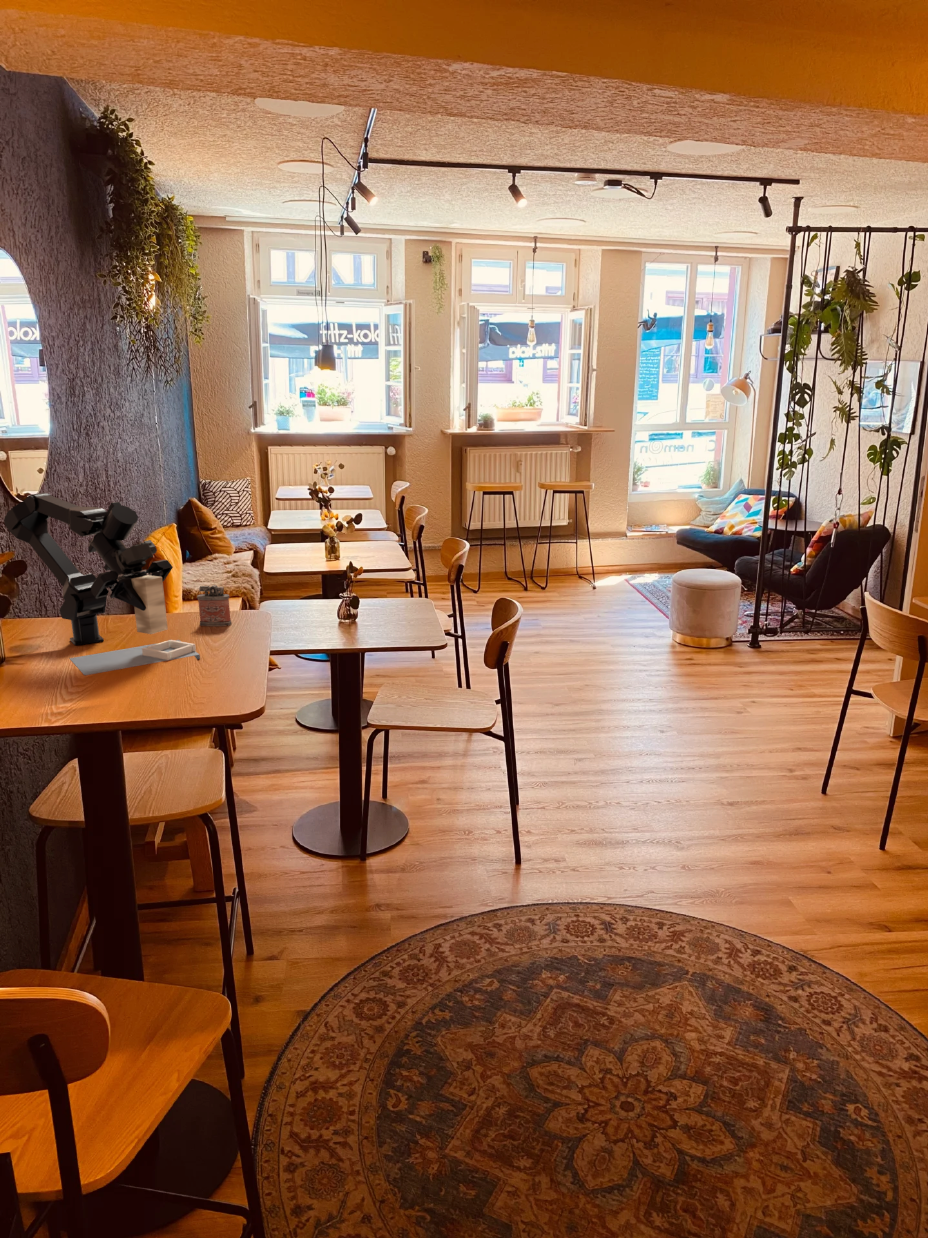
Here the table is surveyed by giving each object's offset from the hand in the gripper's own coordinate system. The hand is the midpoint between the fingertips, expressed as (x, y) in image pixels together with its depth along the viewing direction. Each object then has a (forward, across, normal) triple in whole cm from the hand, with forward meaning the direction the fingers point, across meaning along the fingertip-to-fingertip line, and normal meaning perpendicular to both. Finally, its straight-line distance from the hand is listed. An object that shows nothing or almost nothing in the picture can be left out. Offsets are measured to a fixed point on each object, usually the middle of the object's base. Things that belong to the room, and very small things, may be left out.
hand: (154, 607), depth 199 cm
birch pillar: (+3, 0, +5) cm, 6 cm away
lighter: (+2, +26, +14) cm, 29 cm away
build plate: (+7, -6, +9) cm, 12 cm away
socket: (+10, 0, +5) cm, 12 cm away
